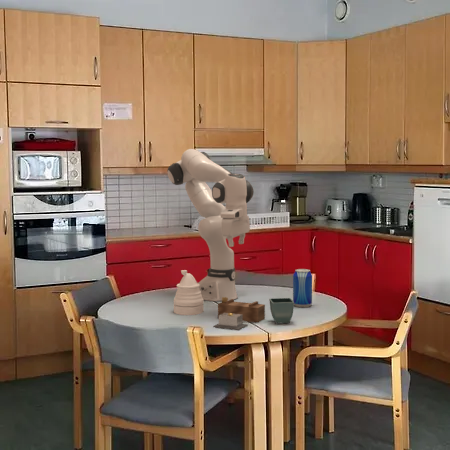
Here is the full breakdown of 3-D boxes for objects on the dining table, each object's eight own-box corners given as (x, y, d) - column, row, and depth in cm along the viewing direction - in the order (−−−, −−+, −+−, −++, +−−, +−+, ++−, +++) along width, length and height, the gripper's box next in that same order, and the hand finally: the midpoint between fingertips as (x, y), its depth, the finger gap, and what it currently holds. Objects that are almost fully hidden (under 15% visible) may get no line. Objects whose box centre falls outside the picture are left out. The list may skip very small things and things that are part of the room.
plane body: (217, 318, 283) (217, 299, 282) (225, 314, 289) (225, 295, 288) (257, 322, 275) (257, 302, 274) (264, 318, 281) (264, 299, 280)
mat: (213, 327, 267) (213, 325, 267) (222, 322, 274) (222, 321, 274) (238, 330, 262) (238, 328, 262) (247, 325, 270) (247, 324, 269)
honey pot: (181, 316, 287) (180, 273, 285) (169, 310, 298) (168, 269, 296) (208, 312, 292) (208, 271, 291) (195, 307, 304) (195, 267, 302)
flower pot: (268, 319, 279) (269, 298, 279) (290, 319, 280) (290, 297, 279) (272, 325, 271) (272, 302, 270) (294, 324, 271) (294, 302, 271)
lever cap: (218, 325, 268) (218, 313, 268) (224, 322, 272) (224, 311, 272) (237, 327, 264) (237, 315, 264) (242, 324, 269) (242, 313, 268)
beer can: (311, 308, 301) (311, 272, 299) (292, 307, 302) (292, 271, 301) (312, 304, 309) (312, 269, 307) (294, 303, 311) (294, 268, 309)
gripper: (240, 210, 298) (240, 242, 299) (218, 213, 280) (218, 247, 281) (253, 210, 295) (253, 242, 297) (232, 214, 277) (232, 248, 278)
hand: (236, 245), depth 289 cm, fingers open, 8 cm apart
